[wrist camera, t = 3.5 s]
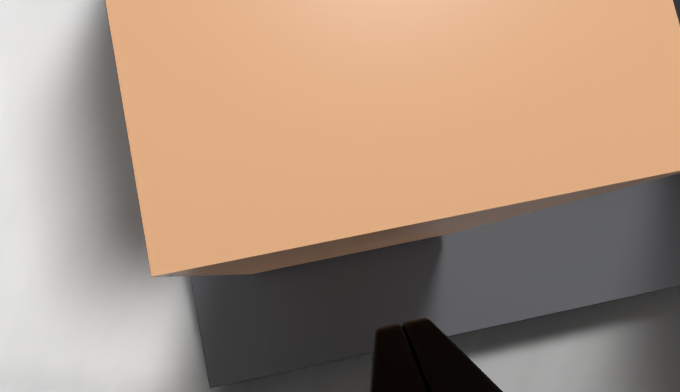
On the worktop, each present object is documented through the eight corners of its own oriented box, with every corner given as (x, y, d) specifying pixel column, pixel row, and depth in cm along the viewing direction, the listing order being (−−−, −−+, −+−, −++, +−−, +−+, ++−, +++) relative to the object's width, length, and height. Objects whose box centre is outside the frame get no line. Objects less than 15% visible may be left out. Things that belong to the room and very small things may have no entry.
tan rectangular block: (447, 234, 15) (717, 163, 5) (250, 274, 15) (150, 277, 5) (422, 119, 16) (632, -145, 6) (229, 155, 15) (94, -66, 5)
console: (907, 230, 17) (1335, 200, 10) (215, 381, 16) (143, 472, 8) (776, -193, 19) (1068, -480, 12) (131, -99, 17) (9, -367, 10)
